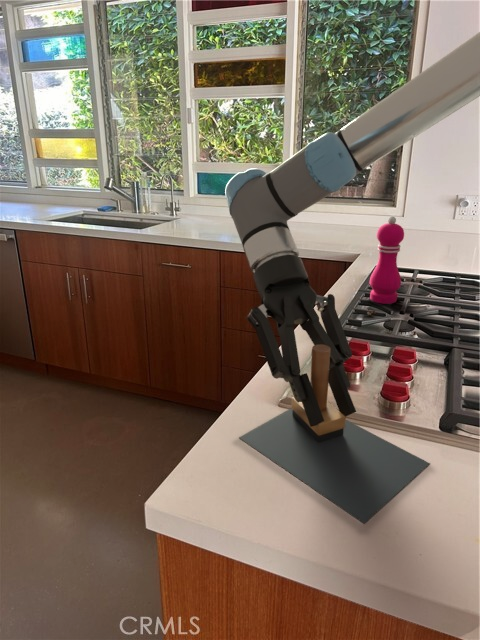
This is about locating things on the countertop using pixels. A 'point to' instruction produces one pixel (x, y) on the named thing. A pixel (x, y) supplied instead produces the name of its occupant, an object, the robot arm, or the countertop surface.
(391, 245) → the pepper mill
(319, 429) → the scrub brush
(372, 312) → the nutmeg
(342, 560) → the countertop surface
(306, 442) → the mat
